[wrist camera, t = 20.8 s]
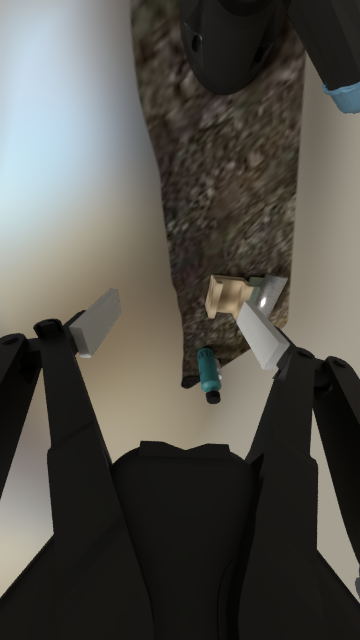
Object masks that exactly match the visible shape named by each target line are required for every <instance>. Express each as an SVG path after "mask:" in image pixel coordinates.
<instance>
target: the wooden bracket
mask: <svg viewBox="0 0 360 640" xmlns="http://www.w3.org/2000/svg"><path fill="white" fill-rule="evenodd" d="M253 288H254V287H253V286H252V285H251V284H250V283H249V282H247V281H246V280H245V279H244V278H241V277H231V276H221V275H212V277H211V281H210V286H209V291H208V295H207V300H206V304H205V306H206V310H207V313H208V316H209V318H214V317H215V314H216V312H226V313H232V315H233V316H234V318H235V320H237V319H238V316H239V314H240V311H241V308H242V306H243V303H244V301H249V298H250V296H251V293H252V291H253Z"/></svg>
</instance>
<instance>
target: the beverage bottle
mask: <svg viewBox="0 0 360 640" xmlns="http://www.w3.org/2000/svg"><path fill="white" fill-rule="evenodd" d="M197 356H198V358H197V359H198V364H199V366H198V367H199V371H200V373H199V375H200V379H201V388H202V390H203V391H205V392H206V398H207V402H208V403H210V404H217V403H219V402H220V400H221V399H220V393H219V392H218V391H219V389H220V388H221V383H220V379H219V375H218V371H217V367H216V362H215V358H214V353H213V351H212V350H211V349H209V348H202V349H200V350H199V351H198V353H197Z"/></svg>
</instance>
